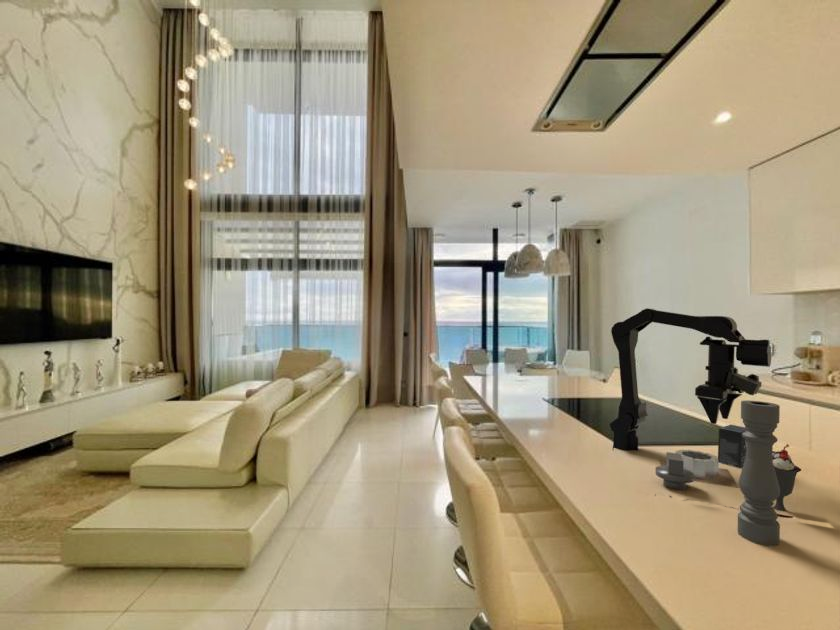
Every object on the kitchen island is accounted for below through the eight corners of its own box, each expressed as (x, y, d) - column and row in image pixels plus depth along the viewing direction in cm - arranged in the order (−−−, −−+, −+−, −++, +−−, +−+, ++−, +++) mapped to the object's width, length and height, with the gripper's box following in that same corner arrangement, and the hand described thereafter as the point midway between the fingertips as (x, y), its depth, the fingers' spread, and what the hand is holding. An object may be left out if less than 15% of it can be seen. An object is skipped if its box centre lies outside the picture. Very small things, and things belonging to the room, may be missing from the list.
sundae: (791, 522, 87) (792, 448, 87) (753, 509, 93) (754, 439, 93) (807, 516, 90) (808, 444, 90) (769, 503, 96) (770, 436, 96)
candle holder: (729, 529, 83) (731, 400, 84) (759, 528, 84) (760, 400, 84) (756, 546, 77) (758, 406, 77) (788, 545, 78) (790, 406, 78)
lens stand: (662, 479, 109) (662, 475, 109) (659, 462, 122) (659, 459, 122) (740, 491, 102) (740, 487, 102) (727, 472, 115) (727, 469, 115)
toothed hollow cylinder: (677, 475, 110) (677, 457, 110) (674, 464, 118) (674, 448, 118) (720, 481, 106) (721, 463, 106) (714, 470, 114) (714, 453, 114)
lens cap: (656, 491, 101) (656, 458, 101) (654, 480, 108) (654, 449, 108) (696, 498, 98) (696, 464, 98) (691, 486, 105) (692, 454, 105)
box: (740, 471, 116) (741, 432, 116) (717, 464, 121) (717, 427, 121) (752, 466, 121) (753, 428, 121) (729, 460, 125) (729, 423, 125)
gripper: (747, 368, 103) (745, 433, 103) (768, 364, 115) (766, 422, 115) (695, 363, 112) (693, 423, 112) (719, 360, 124) (717, 414, 124)
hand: (719, 421), depth 115 cm, fingers open, 9 cm apart
